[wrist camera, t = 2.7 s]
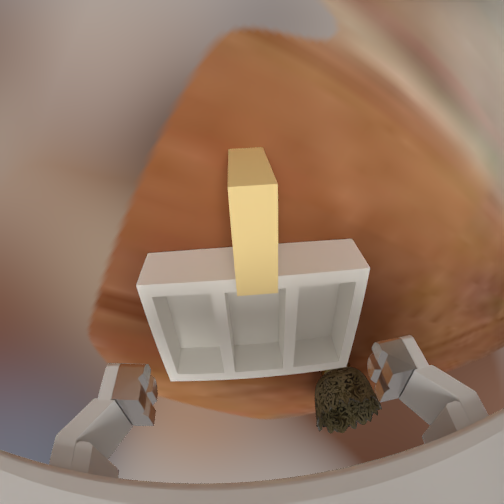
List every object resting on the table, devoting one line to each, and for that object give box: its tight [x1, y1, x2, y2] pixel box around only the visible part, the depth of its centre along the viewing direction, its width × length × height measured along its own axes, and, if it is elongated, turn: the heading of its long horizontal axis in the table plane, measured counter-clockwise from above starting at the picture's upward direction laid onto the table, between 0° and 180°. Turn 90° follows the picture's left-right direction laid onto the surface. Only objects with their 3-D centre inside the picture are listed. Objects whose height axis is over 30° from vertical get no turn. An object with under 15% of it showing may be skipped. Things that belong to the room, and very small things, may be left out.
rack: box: [136, 239, 370, 381], centre depth 28 cm, size 18×13×4 cm
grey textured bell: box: [315, 363, 382, 433], centre depth 33 cm, size 8×7×8 cm
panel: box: [228, 147, 278, 296], centre depth 21 cm, size 2×7×8 cm, turn 2°
